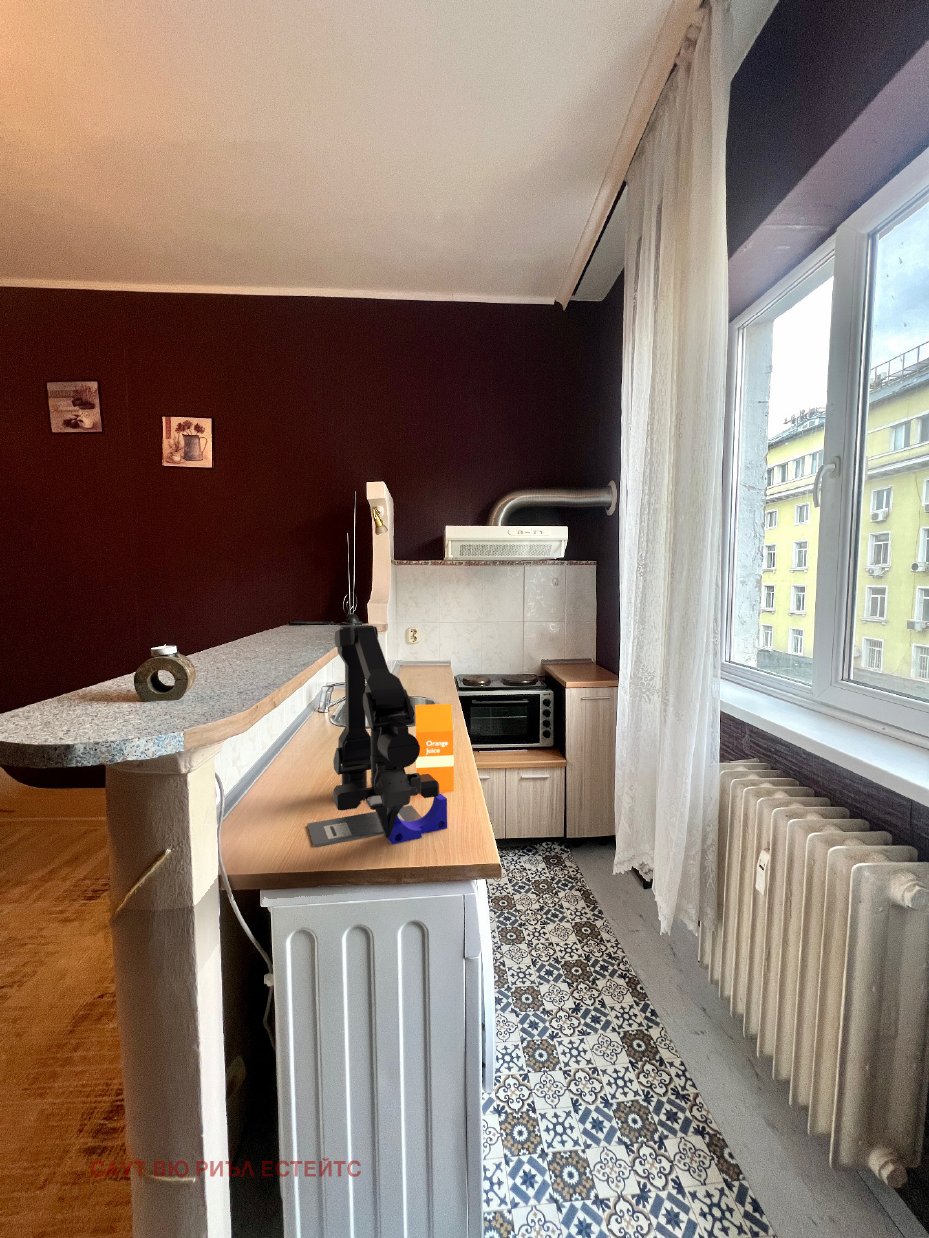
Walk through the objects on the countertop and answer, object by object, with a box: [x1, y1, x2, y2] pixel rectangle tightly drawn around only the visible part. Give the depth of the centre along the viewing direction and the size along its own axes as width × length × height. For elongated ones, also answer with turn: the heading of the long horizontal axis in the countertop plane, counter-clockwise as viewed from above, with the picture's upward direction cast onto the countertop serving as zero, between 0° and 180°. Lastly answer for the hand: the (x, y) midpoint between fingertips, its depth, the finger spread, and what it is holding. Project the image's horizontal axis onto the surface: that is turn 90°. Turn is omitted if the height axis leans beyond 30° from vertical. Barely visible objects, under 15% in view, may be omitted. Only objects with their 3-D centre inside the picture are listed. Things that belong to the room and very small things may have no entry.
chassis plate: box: [306, 805, 423, 848], centre depth 107 cm, size 10×22×1 cm, turn 113°
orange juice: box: [415, 703, 455, 793], centre depth 128 cm, size 8×9×20 cm
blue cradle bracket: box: [383, 793, 448, 845], centre depth 103 cm, size 12×4×6 cm, turn 116°
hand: (387, 837), depth 98 cm, fingers closed
